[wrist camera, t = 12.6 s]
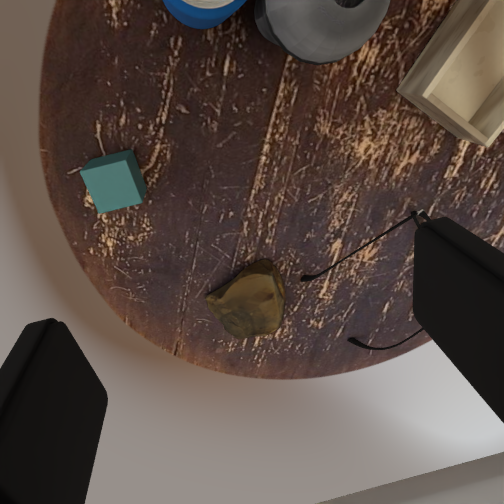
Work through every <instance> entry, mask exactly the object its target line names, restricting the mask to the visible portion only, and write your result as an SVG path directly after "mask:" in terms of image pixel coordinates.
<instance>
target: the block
mask: <svg viewBox="0 0 504 504" xmlns="http://www.w3.org/2000/svg"><path fill="white" fill-rule="evenodd" d="M80 174H81V176H82V178H83V180H84V182H85V184H86V187H87V189H88V191H89V193H90V195H91V197H92V200H93V202H94V204H95V206H96V208H97V210H98V213H99V214H100V213H104V212H108V211H112V210H116V209H120V208H124V207H128V206H132V205H136V204H140V203H142V202H143V199H144V196H145V193H146V189H147V187H146V185H145V182H144V179H143V177H142V174H141V171H140V169H139V166H138V163H137V161H136V158H135V155H134V153H133V150H132V149H131V150H127V151H123V152H119V153H114V154H110V155H106V156H102V157H98V158H94V159H91V160H90V161H89V162H88V163H87V164H86V165H85V166H84V167H83V169H82V170H81V171H80Z"/></svg>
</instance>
